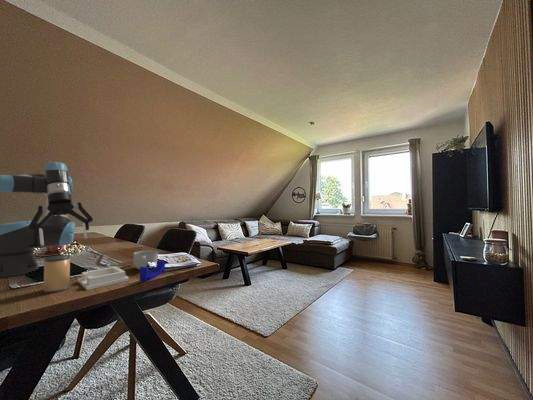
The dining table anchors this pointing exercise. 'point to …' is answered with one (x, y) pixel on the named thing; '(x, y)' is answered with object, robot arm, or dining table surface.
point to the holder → (102, 277)
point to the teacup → (144, 258)
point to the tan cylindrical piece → (56, 273)
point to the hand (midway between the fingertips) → (65, 241)
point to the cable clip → (152, 271)
